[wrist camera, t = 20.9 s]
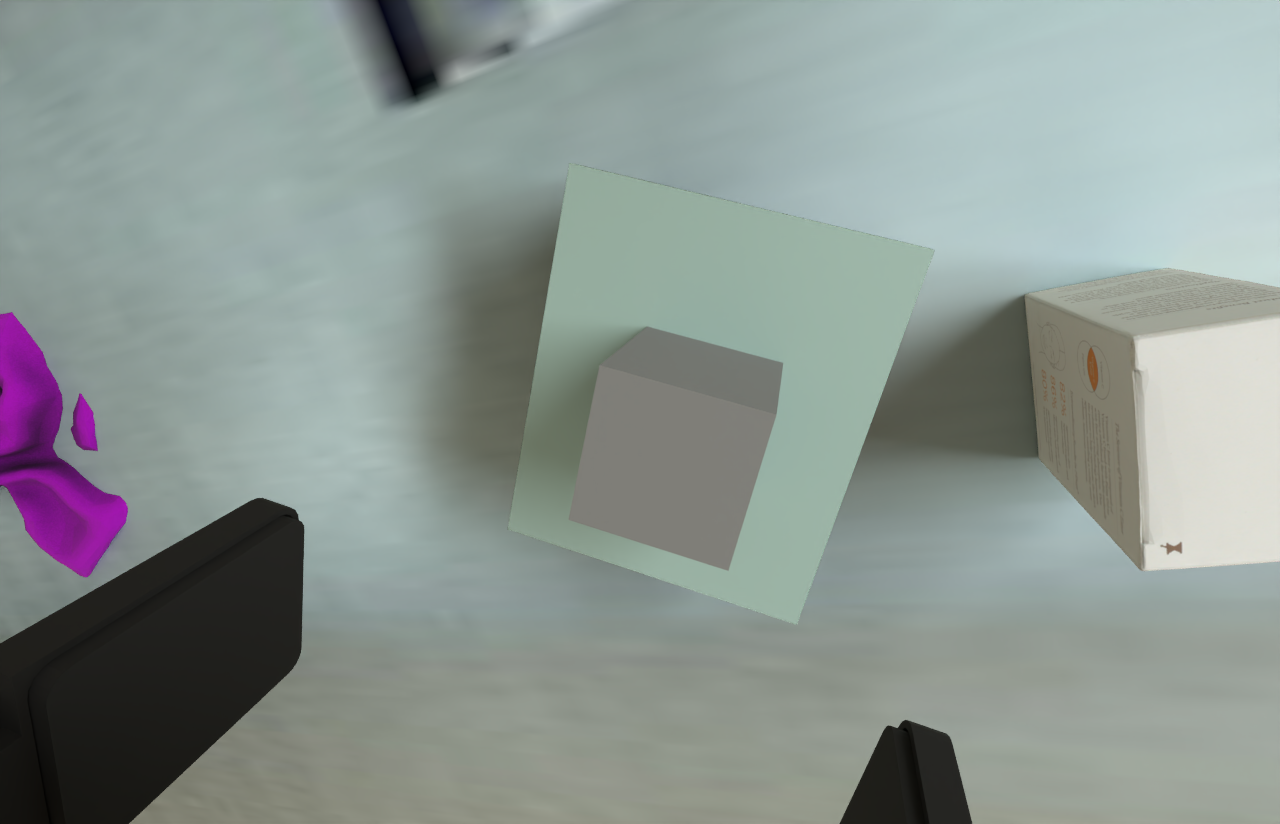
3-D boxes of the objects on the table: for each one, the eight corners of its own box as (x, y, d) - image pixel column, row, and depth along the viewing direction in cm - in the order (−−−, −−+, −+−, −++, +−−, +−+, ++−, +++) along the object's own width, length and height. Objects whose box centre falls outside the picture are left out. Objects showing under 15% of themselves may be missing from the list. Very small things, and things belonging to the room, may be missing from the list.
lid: (576, 164, 24) (569, 163, 23) (930, 248, 22) (934, 250, 21) (515, 520, 29) (507, 529, 28) (797, 613, 27) (796, 624, 26)
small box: (1174, 443, 29) (1360, 564, 20) (1034, 459, 31) (1141, 579, 21) (1170, 263, 27) (1374, 298, 18) (1020, 290, 29) (1131, 337, 19)
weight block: (647, 326, 24) (599, 365, 18) (783, 363, 23) (776, 414, 18) (619, 450, 26) (568, 519, 20) (745, 487, 25) (728, 570, 19)
